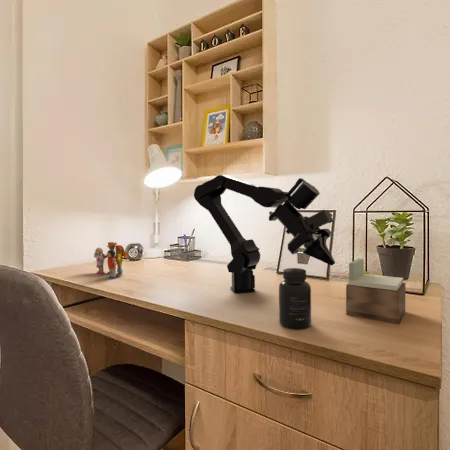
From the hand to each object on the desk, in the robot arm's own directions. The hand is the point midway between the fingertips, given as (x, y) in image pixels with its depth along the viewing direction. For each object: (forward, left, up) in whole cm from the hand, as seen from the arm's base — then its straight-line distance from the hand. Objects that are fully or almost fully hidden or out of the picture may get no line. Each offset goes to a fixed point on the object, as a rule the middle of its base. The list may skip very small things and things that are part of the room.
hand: (333, 264), depth 78 cm
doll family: (-62, +61, -11) cm, 88 cm away
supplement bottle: (-15, -9, -11) cm, 21 cm away
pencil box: (+6, -8, -11) cm, 15 cm away
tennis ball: (+16, +10, -11) cm, 22 cm away
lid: (+6, -8, -4) cm, 11 cm away
